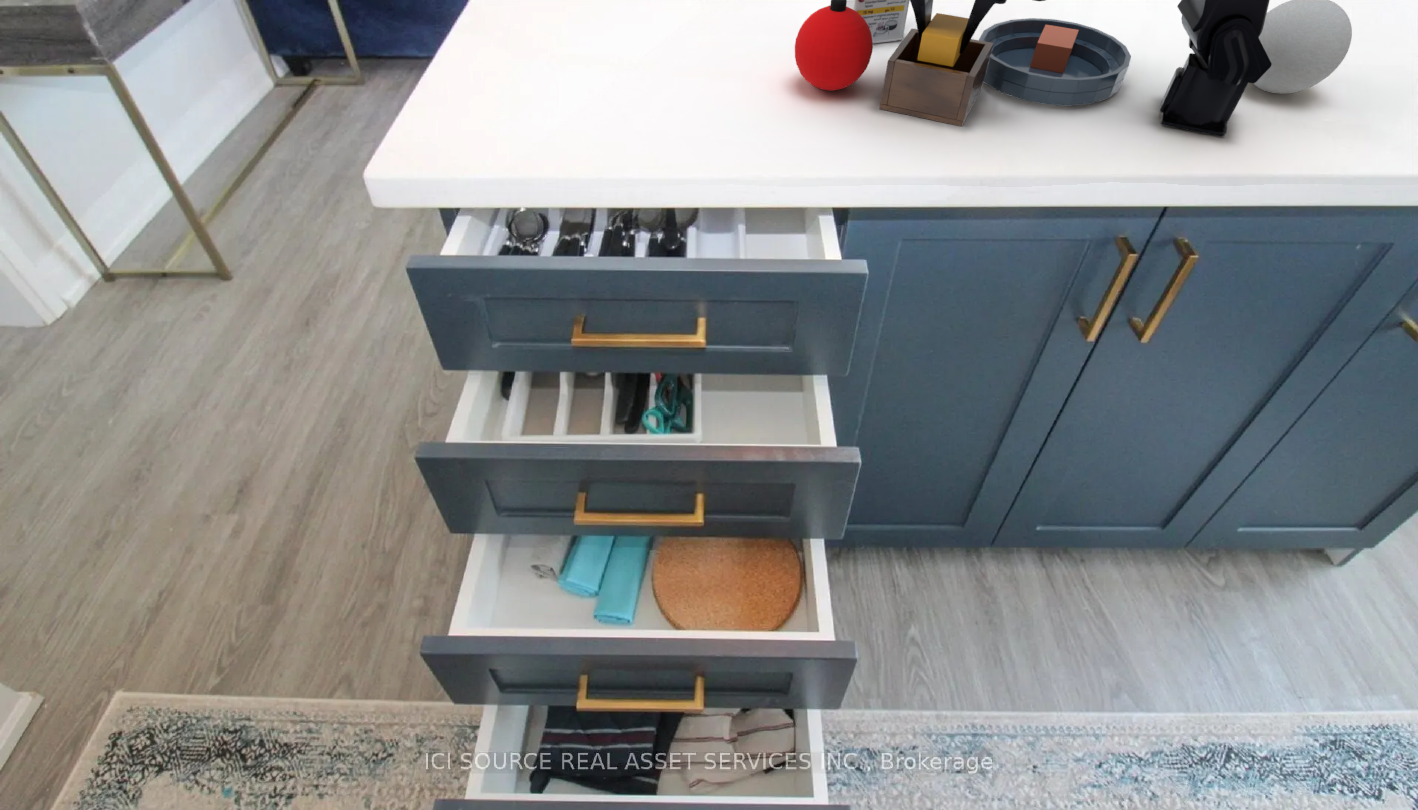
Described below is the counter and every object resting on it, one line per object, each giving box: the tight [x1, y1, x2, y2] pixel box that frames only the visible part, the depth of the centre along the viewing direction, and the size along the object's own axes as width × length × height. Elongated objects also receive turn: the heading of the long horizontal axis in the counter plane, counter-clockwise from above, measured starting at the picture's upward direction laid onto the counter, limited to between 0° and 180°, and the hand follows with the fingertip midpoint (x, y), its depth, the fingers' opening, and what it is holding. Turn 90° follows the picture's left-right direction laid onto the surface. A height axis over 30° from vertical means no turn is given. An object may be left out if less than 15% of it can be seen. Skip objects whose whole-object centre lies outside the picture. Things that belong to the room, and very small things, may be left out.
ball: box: [1252, 0, 1353, 94], centre depth 86 cm, size 10×10×10 cm
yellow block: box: [917, 12, 969, 67], centre depth 83 cm, size 4×6×3 cm, turn 154°
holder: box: [879, 28, 993, 127], centre depth 86 cm, size 10×10×6 cm
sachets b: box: [1030, 25, 1079, 73], centre depth 93 cm, size 4×6×3 cm, turn 154°
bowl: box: [978, 17, 1132, 107], centre depth 91 cm, size 17×17×4 cm
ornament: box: [794, 0, 874, 92], centre depth 87 cm, size 9×9×10 cm
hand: (942, 49), depth 84 cm, fingers closed on yellow block, 4 cm apart
